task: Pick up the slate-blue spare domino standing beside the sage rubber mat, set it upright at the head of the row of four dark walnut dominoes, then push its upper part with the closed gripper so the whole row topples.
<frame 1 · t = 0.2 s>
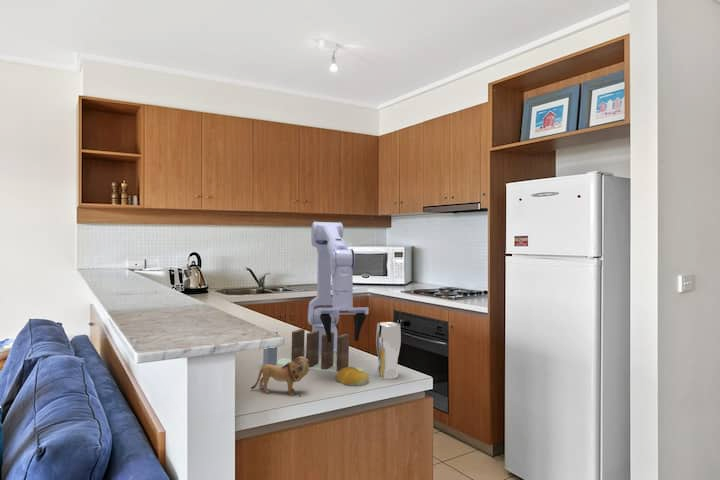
hand: (342, 341, 137), 10 cm above the worktop, tool pointing down, fingers open, 7 cm apart
domino 4: (327, 367, 147), resting on mat
bread roll: (352, 383, 134), on the worktop
domino 3: (312, 365, 149), resting on mat
domino 2: (297, 363, 151), resting on mat
lion figurine: (281, 392, 125), on the worktop
domino 1: (270, 366, 148), on the worktop
mat: (318, 366, 148), on the worktop
beer glass: (387, 377, 140), on the worktop
domino 5: (342, 369, 145), resting on mat
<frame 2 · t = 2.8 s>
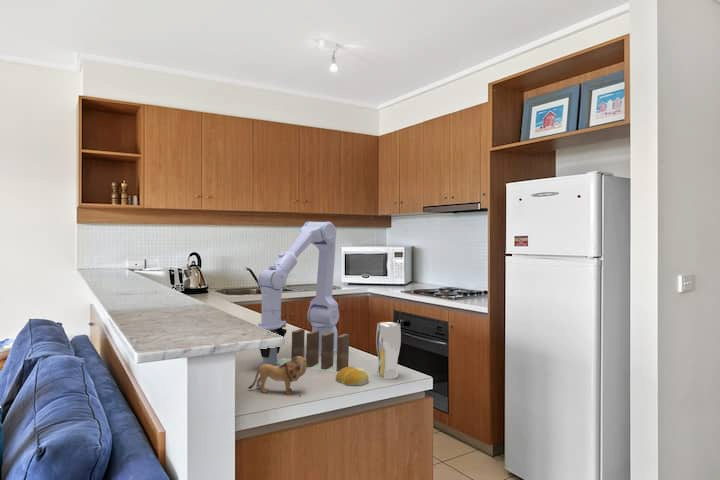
hand: (270, 355, 148), 3 cm above the worktop, tool pointing down, fingers closed on domino 1, 5 cm apart
domino 1: (270, 366, 148), on the worktop, touching gripper
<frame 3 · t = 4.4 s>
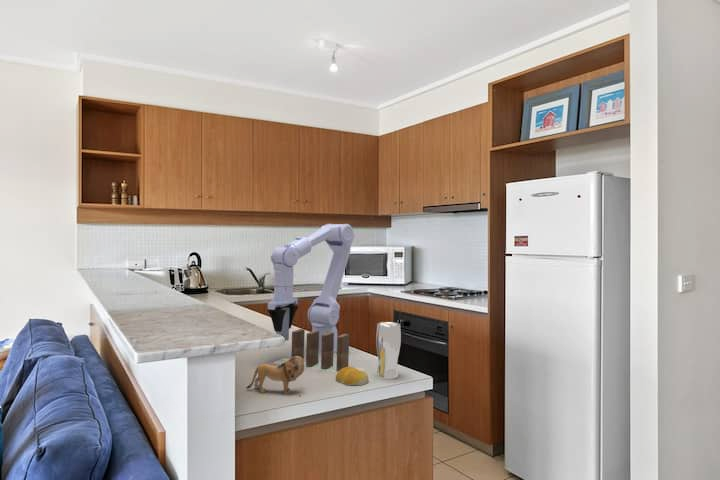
hand: (282, 329, 153), 10 cm above the worktop, tool pointing down, fingers closed on domino 1, 5 cm apart
domino 1: (282, 340, 153), point 7 cm above the worktop, touching gripper
when the fingers open (4 cm above the worktop, at t = 6.2 s): domino 1 stays where it is, resting on mat.
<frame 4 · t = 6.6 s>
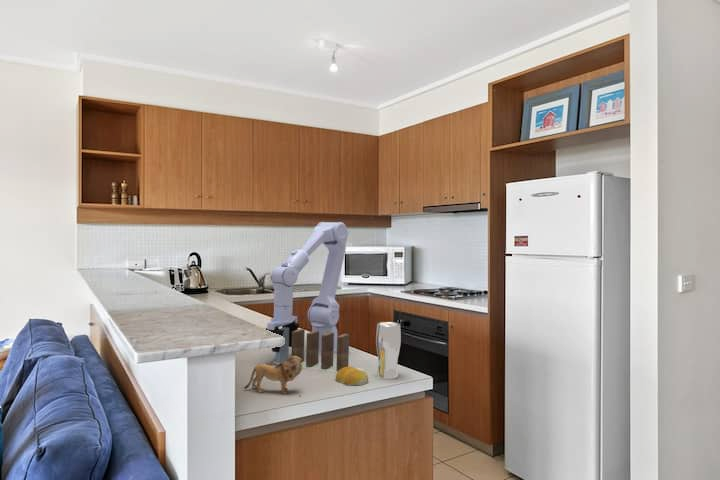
hand: (282, 349, 153), 4 cm above the worktop, tool pointing down, fingers open, 7 cm apart
domino 1: (282, 360, 153), resting on mat
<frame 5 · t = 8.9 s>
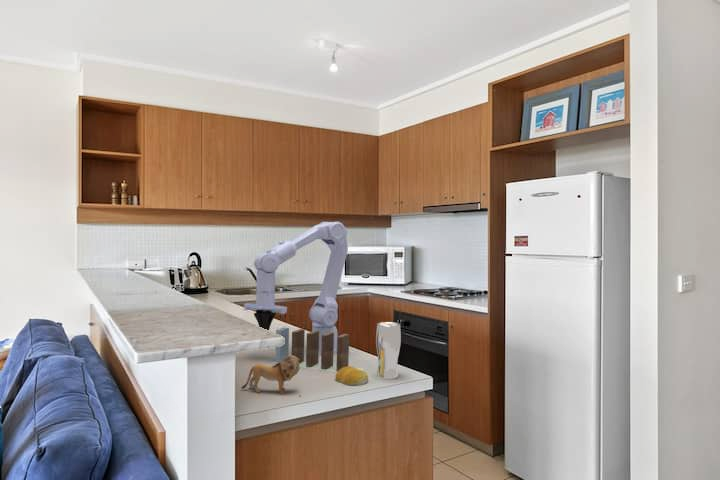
hand: (264, 334, 155), 8 cm above the worktop, tool pointing down, fingers closed
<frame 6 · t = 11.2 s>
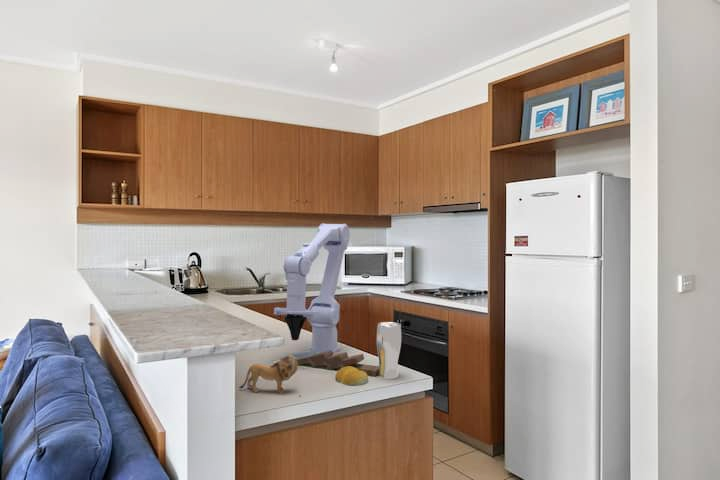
hand: (295, 339, 151), 7 cm above the worktop, tool pointing down, fingers closed
domino 4: (330, 365, 147), point 1 cm above the worktop, tilted 71°, touching domino 3, domino 5
domino 3: (315, 363, 149), point 1 cm above the worktop, tilted 72°, touching domino 2, domino 4, mat
domino 2: (300, 361, 151), point 1 cm above the worktop, tilted 72°, touching domino 1, domino 3, mat
domino 1: (284, 358, 153), point 1 cm above the worktop, tilted 72°, touching domino 2, mat
domino 5: (345, 367, 145), point 1 cm above the worktop, tilted 90°, touching domino 4, mat
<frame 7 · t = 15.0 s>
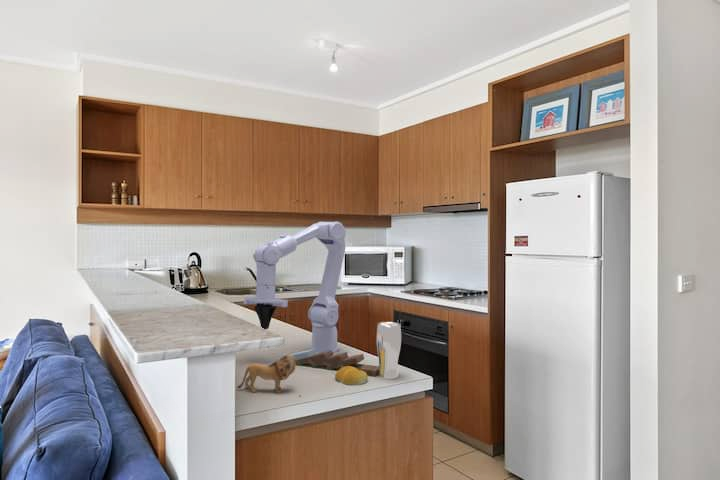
hand: (265, 328, 152), 10 cm above the worktop, tool pointing down, fingers closed
at the end: domino 5 tilted 90°; domino 3 tilted 72°; domino 1 moved 6.2 cm from its start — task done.
